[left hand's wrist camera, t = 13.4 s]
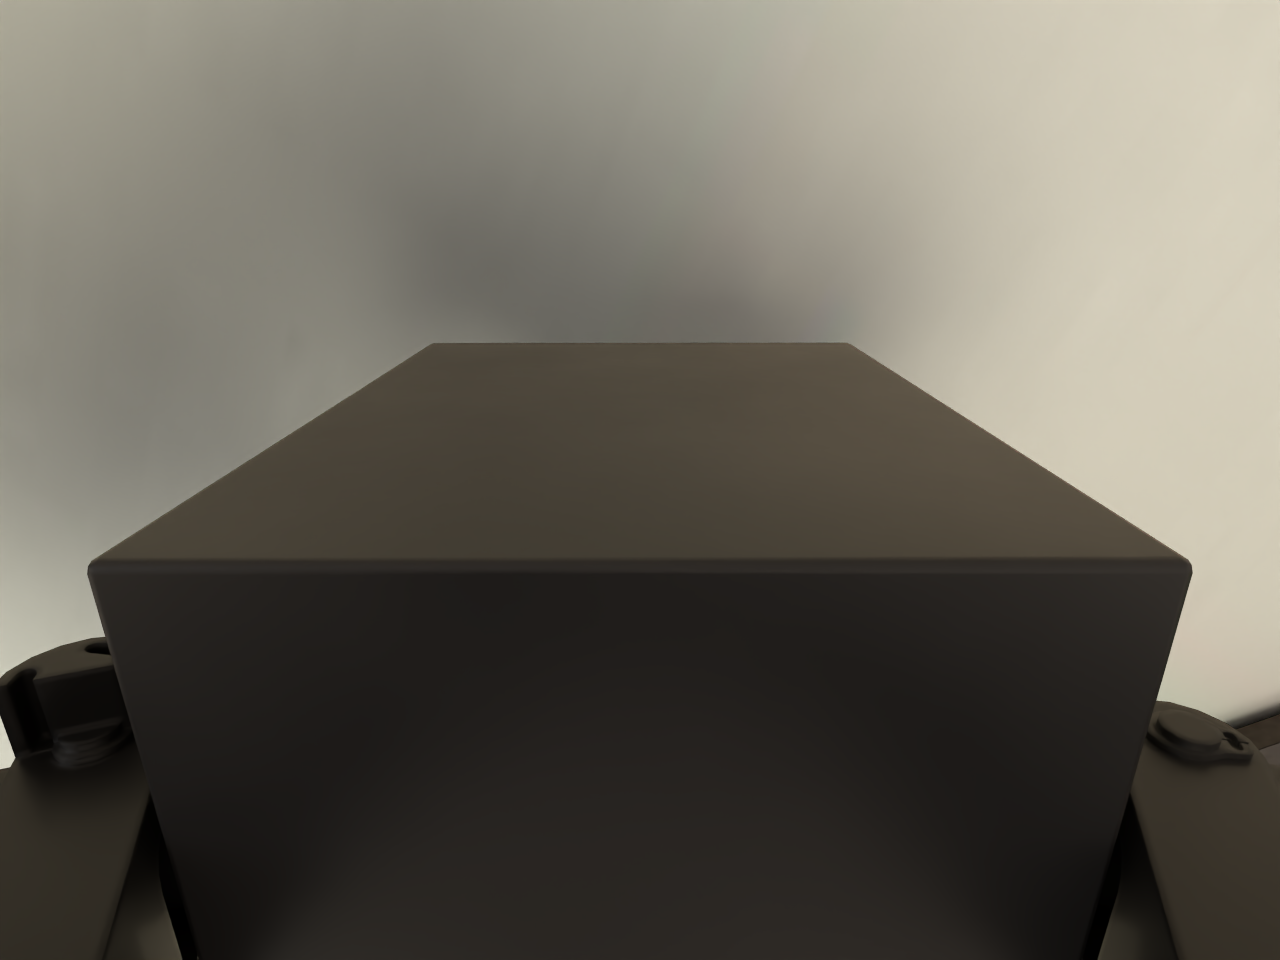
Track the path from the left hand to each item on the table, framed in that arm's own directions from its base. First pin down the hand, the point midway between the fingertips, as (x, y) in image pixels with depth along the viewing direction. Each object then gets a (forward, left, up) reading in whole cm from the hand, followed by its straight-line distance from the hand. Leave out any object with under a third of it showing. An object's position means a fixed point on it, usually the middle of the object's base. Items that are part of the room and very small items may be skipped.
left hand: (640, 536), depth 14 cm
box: (+10, -3, 0) cm, 11 cm away
